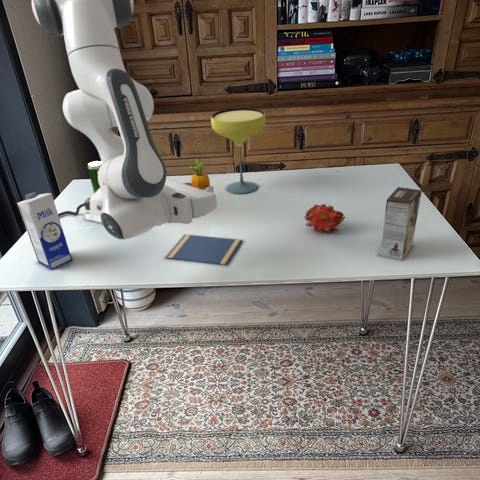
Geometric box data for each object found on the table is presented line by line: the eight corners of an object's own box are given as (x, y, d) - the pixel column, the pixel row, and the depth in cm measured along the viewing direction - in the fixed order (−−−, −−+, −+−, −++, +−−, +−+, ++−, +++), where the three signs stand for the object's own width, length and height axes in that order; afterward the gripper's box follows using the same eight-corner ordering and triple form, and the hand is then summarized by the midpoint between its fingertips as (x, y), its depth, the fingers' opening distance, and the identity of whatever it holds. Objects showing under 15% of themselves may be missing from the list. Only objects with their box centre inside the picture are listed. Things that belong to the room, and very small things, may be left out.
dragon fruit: (300, 233, 144) (339, 237, 144) (305, 228, 135) (346, 233, 136) (303, 205, 144) (342, 209, 144) (308, 198, 135) (349, 203, 135)
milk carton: (50, 270, 132) (27, 201, 120) (37, 262, 135) (13, 195, 123) (72, 259, 136) (52, 192, 124) (59, 252, 140) (38, 187, 127)
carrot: (210, 219, 127) (205, 163, 118) (192, 219, 128) (185, 163, 119) (215, 212, 131) (210, 157, 122) (197, 211, 132) (191, 157, 123)
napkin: (165, 258, 133) (165, 257, 133) (185, 235, 144) (184, 234, 144) (226, 265, 128) (226, 263, 128) (241, 241, 139) (241, 239, 139)
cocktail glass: (271, 194, 165) (270, 118, 150) (220, 200, 163) (213, 124, 148) (261, 176, 179) (259, 105, 164) (214, 181, 178) (208, 110, 163)
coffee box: (389, 240, 134) (397, 185, 124) (412, 245, 131) (422, 189, 121) (378, 255, 128) (386, 198, 118) (402, 260, 125) (412, 203, 115)
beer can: (92, 198, 171) (83, 165, 164) (100, 193, 175) (92, 160, 168) (105, 200, 170) (97, 166, 162) (112, 194, 174) (105, 161, 166)
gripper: (139, 205, 125) (178, 189, 133) (192, 226, 113) (232, 206, 121) (135, 182, 121) (175, 166, 129) (189, 200, 110) (230, 182, 117)
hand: (203, 186), depth 125 cm, fingers closed on carrot, 5 cm apart
